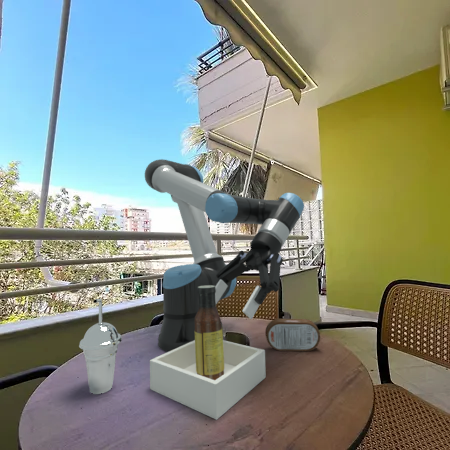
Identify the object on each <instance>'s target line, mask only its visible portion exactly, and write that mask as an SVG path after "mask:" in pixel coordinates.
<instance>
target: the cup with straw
mask: <svg viewBox="0 0 450 450" xmlns="http://www.w3.org/2000/svg"><path fill="white" fill-rule="evenodd" d="M92 302H93V303H94V304H97V303H98V322H97V323H95V324H93V325H92V326H90V327H89V328H88V329H87V331H86V332H85V334H84V336H83V338H82V339H80V341H79V345H78V347H79V348H80V349H81V350H82V351H83V352H82V353H83V356H84V359H85V365H86V366H85V367H86V373H87V380H88V381H87V382H88V387H89V393H90V392H91V393H93V394H92V395H102V394H105V393H107V392H108V391H110V390H111V388H112V389H113V387H112V386H113V382H114V378H115V377H114V376H115V369H116V358H117V353H118V348H119V344H121V342H122V340H123V339H122V335H121V334H120V333H119V332H118V330H117V329H116V326H114V325H113V324H112V323H109V322H103V300H102V298H97V299H93V300H92ZM91 393H90V394H91ZM101 393H102V394H101Z"/></svg>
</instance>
